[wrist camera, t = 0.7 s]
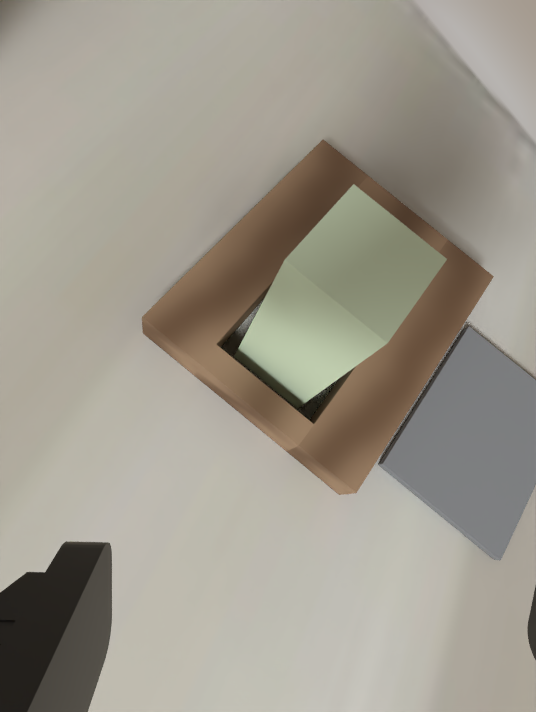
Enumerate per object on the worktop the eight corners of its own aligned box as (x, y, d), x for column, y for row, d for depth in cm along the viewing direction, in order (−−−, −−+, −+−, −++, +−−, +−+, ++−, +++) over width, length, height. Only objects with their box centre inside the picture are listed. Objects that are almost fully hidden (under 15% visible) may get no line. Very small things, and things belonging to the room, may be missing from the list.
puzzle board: (142, 333, 28) (142, 316, 26) (311, 164, 35) (323, 139, 33) (339, 494, 28) (356, 492, 26) (471, 292, 35) (493, 276, 32)
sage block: (234, 356, 29) (284, 259, 18) (281, 302, 31) (353, 184, 20) (297, 408, 29) (387, 343, 18) (340, 350, 31) (447, 259, 20)
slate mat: (378, 464, 29) (382, 463, 28) (463, 329, 34) (469, 326, 33) (493, 559, 29) (500, 560, 28) (564, 410, 33) (570, 408, 33)
